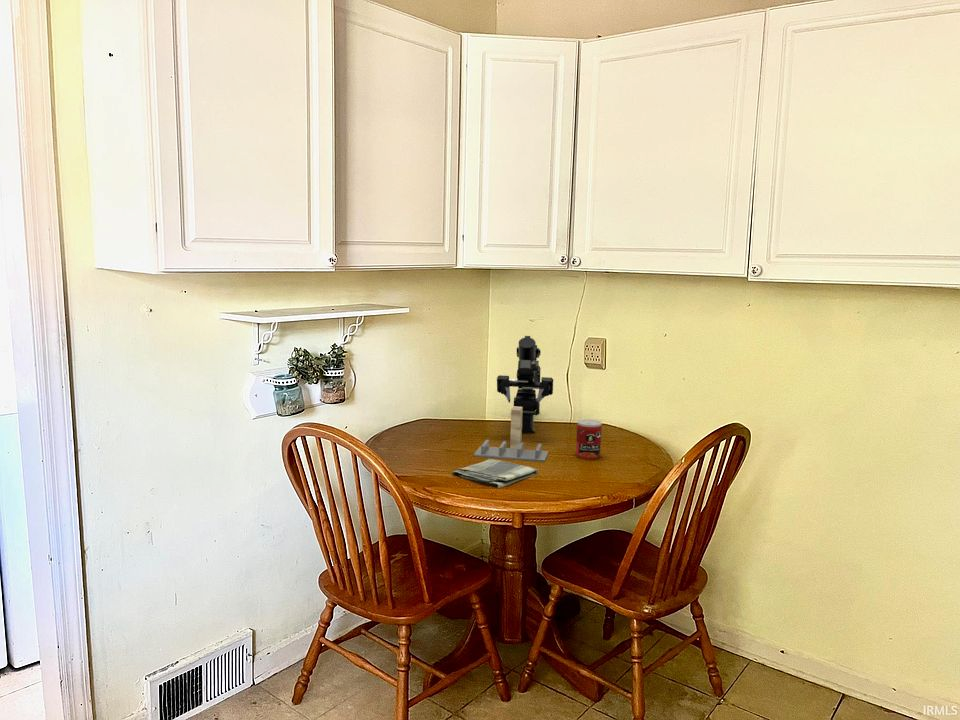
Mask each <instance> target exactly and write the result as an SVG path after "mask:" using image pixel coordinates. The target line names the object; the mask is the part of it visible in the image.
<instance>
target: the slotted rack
mask: <svg viewBox="0 0 960 720" xmlns="http://www.w3.org/2000/svg"><path fill="white" fill-rule="evenodd" d="M507 444H508V443H507V440H503V441H502V443H501V444H500V446H499V447H496V446H490V439H486V440H484V442H483V443H482V444H481V445H479V446H478V448H477V450H475V452H474V453H473V457H479V458H488V459H502V460H515V461H516V460H517V461H529V462H539V463H545V462H546V460H547V457H548V454H549V451H547V450H542V446H543V445H542V443H538V444H537V446H536V449H525V442H523V441H521V443H520V445H519V447H518V448H517V449H513V448H510V447H507Z"/></svg>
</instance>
